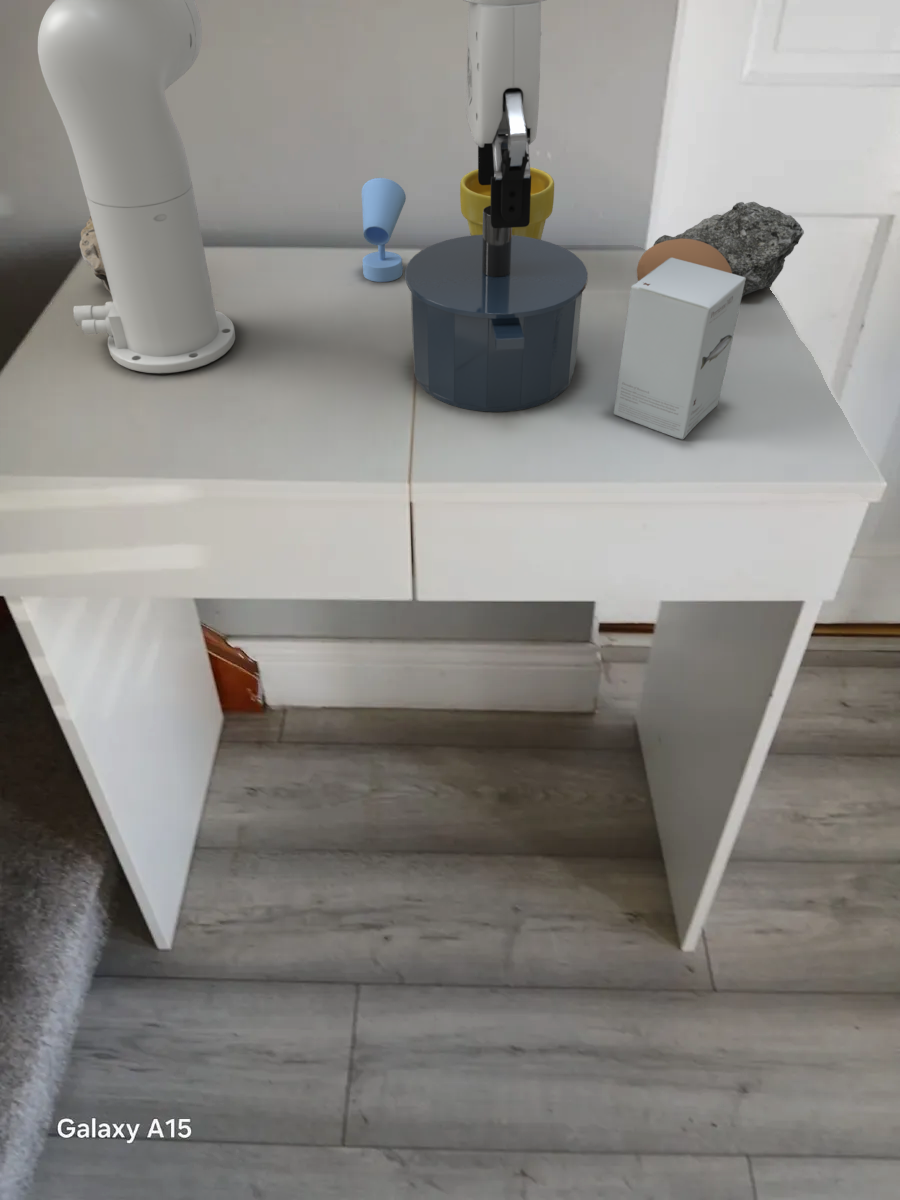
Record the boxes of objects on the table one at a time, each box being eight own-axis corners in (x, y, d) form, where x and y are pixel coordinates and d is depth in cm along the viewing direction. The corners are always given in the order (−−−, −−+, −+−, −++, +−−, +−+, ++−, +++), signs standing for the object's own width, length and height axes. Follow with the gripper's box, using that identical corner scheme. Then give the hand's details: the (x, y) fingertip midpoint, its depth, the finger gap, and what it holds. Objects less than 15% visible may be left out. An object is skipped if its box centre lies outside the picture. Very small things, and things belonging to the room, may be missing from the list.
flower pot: (446, 256, 114) (446, 170, 107) (526, 242, 116) (531, 158, 110) (480, 292, 107) (481, 203, 100) (564, 277, 109) (571, 189, 103)
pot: (420, 432, 86) (417, 335, 80) (408, 322, 102) (405, 233, 95) (592, 423, 87) (603, 327, 81) (554, 315, 103) (561, 227, 96)
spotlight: (367, 258, 113) (356, 283, 108) (362, 170, 106) (350, 193, 101) (409, 260, 113) (400, 285, 108) (406, 171, 106) (396, 195, 101)
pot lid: (410, 329, 82) (407, 254, 77) (401, 248, 94) (398, 179, 89) (602, 321, 83) (611, 245, 78) (569, 241, 95) (575, 172, 90)
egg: (757, 248, 98) (668, 222, 104) (716, 260, 93) (626, 232, 99) (738, 321, 102) (654, 292, 108) (699, 336, 98) (613, 305, 104)
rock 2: (635, 257, 107) (663, 270, 116) (720, 329, 104) (742, 337, 112) (715, 152, 101) (738, 175, 110) (807, 226, 98) (823, 243, 107)
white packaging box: (683, 442, 85) (709, 308, 76) (610, 415, 88) (627, 283, 80) (720, 406, 89) (749, 276, 81) (649, 381, 93) (669, 253, 84)
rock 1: (137, 242, 113) (64, 210, 105) (181, 224, 109) (109, 189, 101) (140, 315, 113) (67, 289, 104) (184, 299, 109) (112, 271, 100)
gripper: (446, -48, 78) (451, 171, 90) (467, 0, 65) (469, 247, 77) (538, -52, 78) (531, 166, 90) (577, -5, 66) (562, 242, 77)
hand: (502, 203), depth 83 cm, fingers open, 9 cm apart
